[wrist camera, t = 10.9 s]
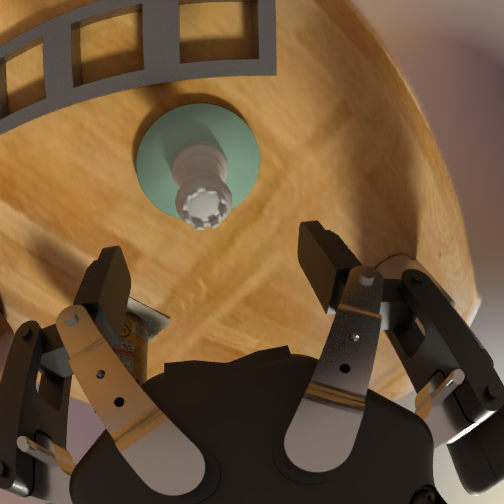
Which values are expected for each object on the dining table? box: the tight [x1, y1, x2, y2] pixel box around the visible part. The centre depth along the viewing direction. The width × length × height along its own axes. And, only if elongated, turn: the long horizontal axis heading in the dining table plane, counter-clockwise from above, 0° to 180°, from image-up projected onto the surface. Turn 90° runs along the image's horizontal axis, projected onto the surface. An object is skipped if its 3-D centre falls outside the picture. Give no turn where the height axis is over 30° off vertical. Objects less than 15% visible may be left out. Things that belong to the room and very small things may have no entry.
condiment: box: [94, 297, 172, 413], centre depth 25 cm, size 7×8×12 cm
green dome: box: [136, 103, 260, 219], centre depth 21 cm, size 10×10×1 cm
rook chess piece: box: [171, 140, 233, 231], centre depth 18 cm, size 4×4×8 cm
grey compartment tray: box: [0, 0, 276, 135], centre depth 13 cm, size 24×8×2 cm, turn 90°
